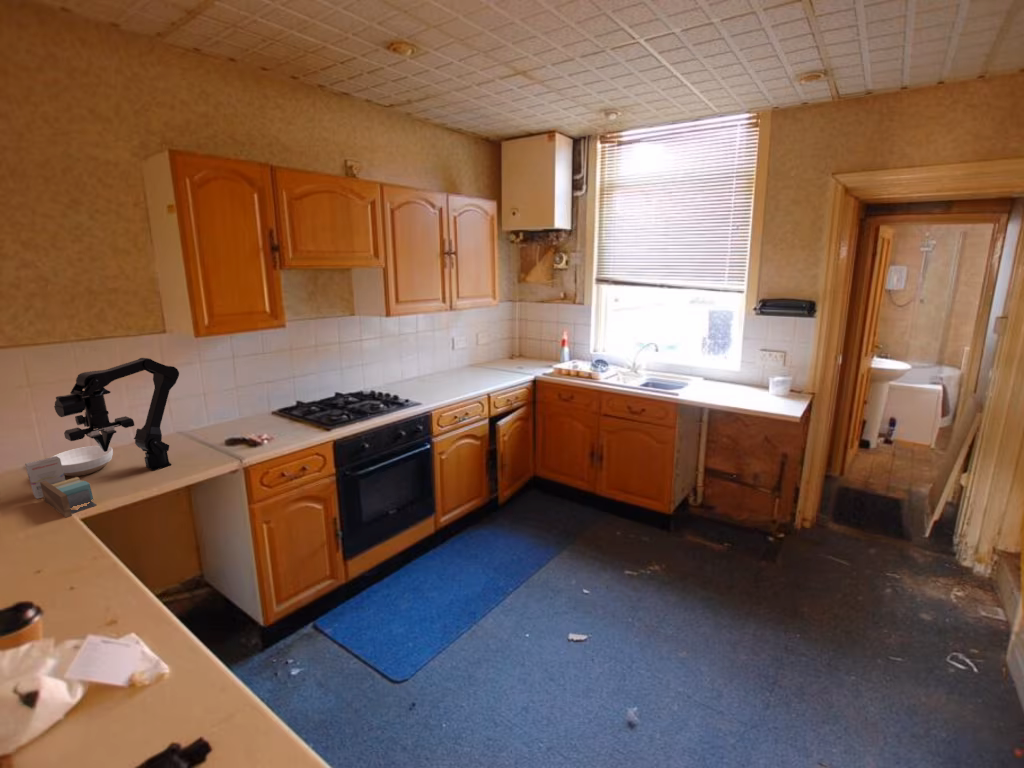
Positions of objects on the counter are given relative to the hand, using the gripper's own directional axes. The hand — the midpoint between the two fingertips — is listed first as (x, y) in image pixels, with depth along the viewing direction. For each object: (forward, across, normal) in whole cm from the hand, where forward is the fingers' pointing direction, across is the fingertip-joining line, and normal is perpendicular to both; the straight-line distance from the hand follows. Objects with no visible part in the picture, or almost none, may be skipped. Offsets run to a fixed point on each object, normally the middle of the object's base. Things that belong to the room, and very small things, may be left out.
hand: (105, 451), depth 187 cm
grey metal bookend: (+12, +14, +13) cm, 22 cm away
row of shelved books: (+12, +13, +2) cm, 18 cm away
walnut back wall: (+12, +18, +7) cm, 23 cm away
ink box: (+12, +15, -9) cm, 21 cm away
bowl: (+12, +1, -22) cm, 25 cm away
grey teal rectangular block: (+12, +13, +8) cm, 19 cm away
